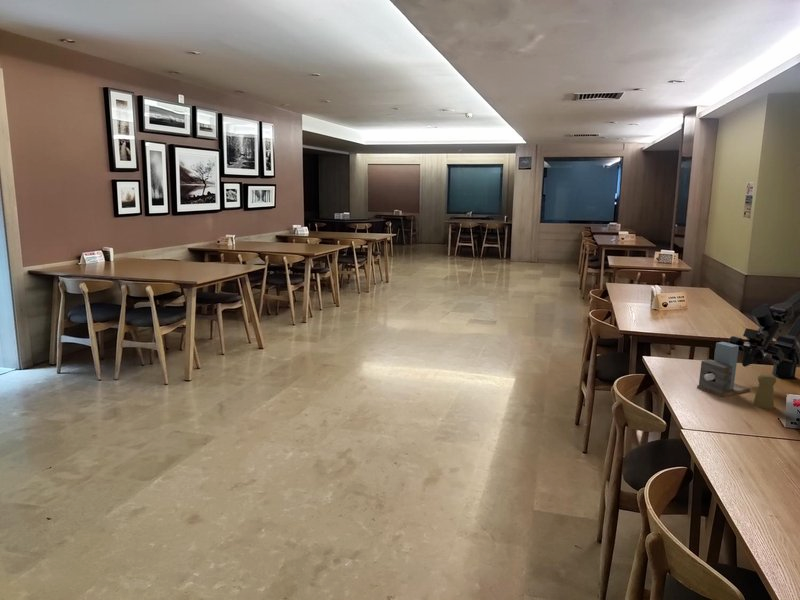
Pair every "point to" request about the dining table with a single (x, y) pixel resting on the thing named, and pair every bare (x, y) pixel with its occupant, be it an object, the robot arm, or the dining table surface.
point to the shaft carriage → (725, 359)
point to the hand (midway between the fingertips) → (743, 365)
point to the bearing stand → (718, 379)
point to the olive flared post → (765, 391)
